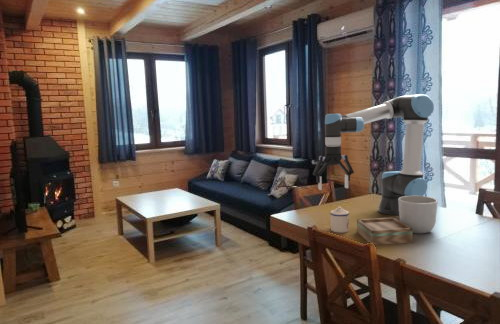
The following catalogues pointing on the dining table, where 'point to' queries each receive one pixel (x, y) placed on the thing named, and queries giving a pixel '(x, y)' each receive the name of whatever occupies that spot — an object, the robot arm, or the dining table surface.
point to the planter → (418, 212)
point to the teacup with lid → (339, 220)
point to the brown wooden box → (384, 231)
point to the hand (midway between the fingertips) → (333, 188)
